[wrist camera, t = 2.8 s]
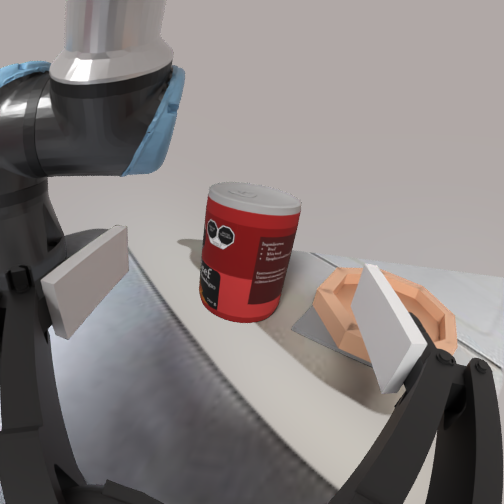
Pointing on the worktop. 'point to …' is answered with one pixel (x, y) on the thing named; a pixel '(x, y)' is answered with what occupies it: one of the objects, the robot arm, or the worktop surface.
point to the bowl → (411, 295)
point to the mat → (319, 332)
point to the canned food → (246, 249)
